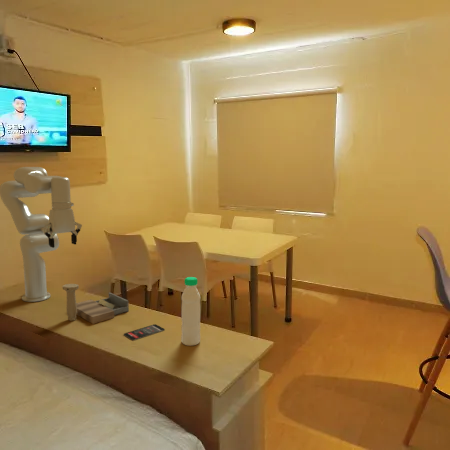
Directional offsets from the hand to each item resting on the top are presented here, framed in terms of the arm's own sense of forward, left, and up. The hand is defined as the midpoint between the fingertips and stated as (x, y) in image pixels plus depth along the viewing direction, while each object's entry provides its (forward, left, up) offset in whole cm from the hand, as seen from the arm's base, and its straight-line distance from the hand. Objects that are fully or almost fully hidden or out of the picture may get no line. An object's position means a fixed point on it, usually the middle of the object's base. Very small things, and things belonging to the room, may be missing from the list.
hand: (63, 245), depth 178 cm
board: (+10, +7, -30) cm, 33 cm away
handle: (+10, -2, -31) cm, 32 cm away
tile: (+10, +14, -28) cm, 33 cm away
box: (+10, +16, -30) cm, 36 cm away
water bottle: (+61, +20, -31) cm, 71 cm away
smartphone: (+42, +13, -31) cm, 53 cm away
